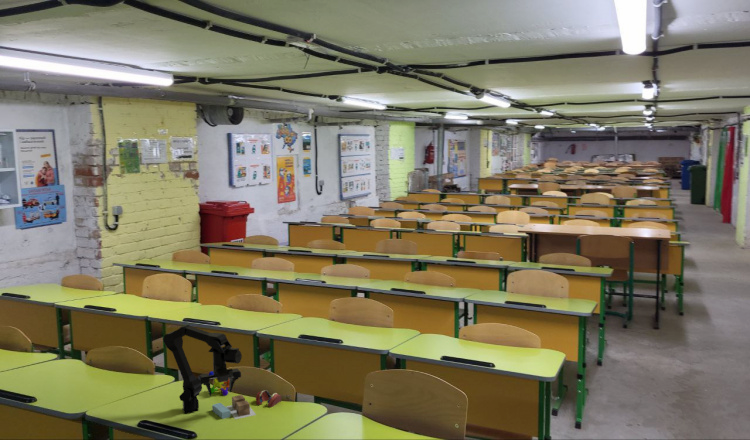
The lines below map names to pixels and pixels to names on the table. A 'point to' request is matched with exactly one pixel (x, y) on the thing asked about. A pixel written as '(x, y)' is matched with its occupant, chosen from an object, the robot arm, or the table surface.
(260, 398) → the teeth model
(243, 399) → the post
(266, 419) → the table surface
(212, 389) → the molecular model
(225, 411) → the light blue block
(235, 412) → the mat
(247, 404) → the post
